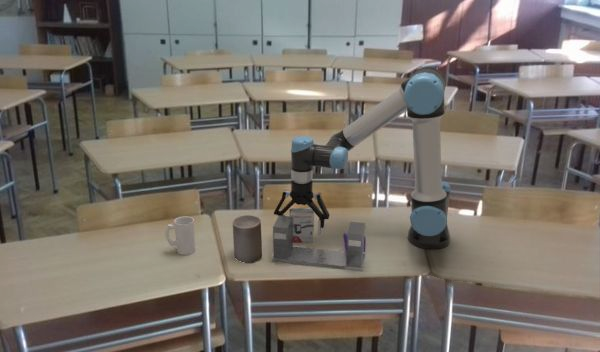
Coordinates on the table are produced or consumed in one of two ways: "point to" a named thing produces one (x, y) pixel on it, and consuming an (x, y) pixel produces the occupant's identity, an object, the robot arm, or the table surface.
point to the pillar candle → (247, 239)
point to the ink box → (302, 224)
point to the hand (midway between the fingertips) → (301, 233)
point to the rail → (318, 257)
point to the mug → (183, 235)
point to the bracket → (346, 241)
